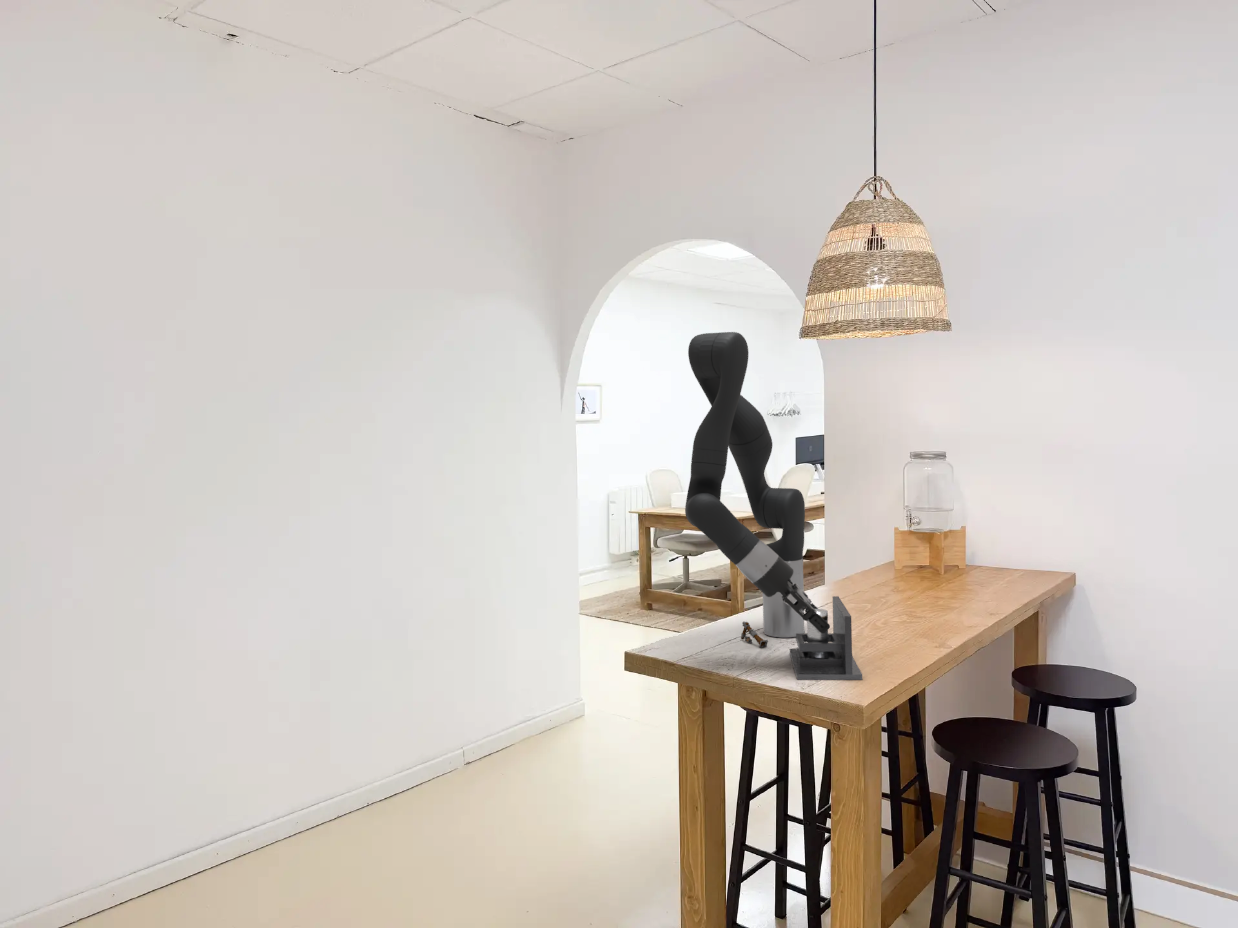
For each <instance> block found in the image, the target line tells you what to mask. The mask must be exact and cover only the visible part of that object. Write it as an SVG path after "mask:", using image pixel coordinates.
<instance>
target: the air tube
mask: <svg viewBox="0 0 1238 928" xmlns="http://www.w3.org/2000/svg"><path fill="white" fill-rule="evenodd" d="M815 610H816V612H817V613H818V614H819V615H820V616H821V617H822V618H823V619H824V620H825V621H826V622H827V623H828V624H829V622H828V621H829V617H828V616H829V614H828V610H826V609H822V608H818V609H815ZM807 611H808V610H807ZM806 629H807V630H806V633H807V642H828V633H829V629H828V630H827V631H826V632H825V633H821V632H820V631H819V630H818V629H817V628H816V627H814V626H813V625H812V624H811V623H810V622H809V621H806ZM808 658H829V653H828V651H808Z"/></svg>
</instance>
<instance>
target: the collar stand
mask: <svg viewBox="0 0 1238 928" xmlns="http://www.w3.org/2000/svg"><path fill="white" fill-rule="evenodd" d="M832 631H833V632H832V633H829V632H828V642H807V632H806V633H800V634H796V637H795V641H796V645H797V647H796V648H789V656H790V659H791V663H792V667H793V670H794V673H795V677H796V680H798V681H799V680H800V681H802V680H803V681H805V680H808V681H809V680H810V681H811V680H812V681H813V680H815V681H818V680H819V681H821V680H822V681H825V680H826V681H863V673H862V671H861V670H860V668H859V666H858V664H857V662H856V660H855V659H854V656H853V639H852V637H853V636H852V635H853V633H852V615H851V613H850V612H849V610H848V609H847V607H846V606H845V605H844V603H843V601H842V600H841V598H840V597H839V595H836V596H834V595H833V596H832ZM808 651H828V653H829V658H808Z"/></svg>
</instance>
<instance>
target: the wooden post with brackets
mask: <svg viewBox="0 0 1238 928" xmlns="http://www.w3.org/2000/svg"><path fill="white" fill-rule="evenodd" d="M742 627H743V630H742V633H741V635H740V639H741V640H744V642H746V643H747V642H748V643H747V644H750V643H752V644H753V639H754V640H756V642H757V644H758V649H762V648H767V646H768V642H769V641H768V639H763V638H762V637H761V636H759V635H758V632H756V630H755V629H754V628H752V627H751V625H750V623H749V622H748V621H743V622H742ZM747 633H748V634H749V635H750V636H748V635H747ZM751 637H752V639H751Z"/></svg>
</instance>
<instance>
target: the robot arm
mask: <svg viewBox="0 0 1238 928" xmlns="http://www.w3.org/2000/svg"><path fill="white" fill-rule="evenodd" d="M687 351H688V353H687V354H688V355H687V356H688V361H689V365H690V368H691V370H692V372H693V375H694V377H695V379H696V380H697V382H698V384H699V387H700V388H701V389H702V391H703V393H704V395H705V396H706V398H707V400H708V402H709V404H710V409H709V410H708V412H707V413H706V415H705V417H704V418H703V420H702V421H701V423H700V425H699V426H698V428H697V431H696V432H695V436H694V438H693V445H692V454H691V462H690V478H689V484H688V488H687V494H686V495H687V496H686V500H685V506H684V507H685V508H684V510H685V511H684V513H685V516H686V519H687V522H689V523H690V525H692V526H694V527H695V528H696V529H698V530H699V531H700V532H701V533H703V534H704V535H705V536H706V537H707V538H708V539H709V540H711V541H712V542H713V543H714V544H715V545H716V546H717V548H718V549H719V550H720V551H721V553H722V554H723V555H724V556H725V557H726V558H727V559H728V560H729V561H730V562H731V563H733V564H734V565H735V566H736V567H737V569H738V570H739V571H740V572H741V574H742V575H743V576H745V578H746V579H748V581H750V582H751V584H753V585H754V587H756V588H757V589H758V590H759V591H760V592H761V593H762V615H763V616H762V617H763V619H762V620H763V621H762V622H763V623H762V624H763V635H767V636H768V637H774V638H796V634H800V633H805V621H806V622H807V621H809V622H810V623H811V624H812V625H813V626H814V627H816V628H817V629H818V630H819V631H820V632H821V633H825V632H826V631H827V630H828V631H829V629H830V627H831V625H830V624H829V622H828V623H827V622H826V621H825V620H824V619H823V618H822V617H821V616H820V615H819V614H818V613H817V612H816V610H815V609H819V608H818V607H817V606H816V605H815V604H814V603H813V602H812V599H810V598H809V596H808V595H807V593H806V592H805V591H804V589H805V588H804V558H803V557H804V556H803V555H804V545H805V520H806V518H805V517H806V503H805V499H804V496H803V494H802V492H801V490H799V489H796V488H790V487H789V488H788V487H783V488H782V487H781V488H780V487H770V485H769V484H768V483H767V479H766V477H765V471H766V468H767V465H768V463H769V460H770V458H771V455H772V450H773V439H772V436H771V433H770V430H769V428H768V425H767V423H766V421H765V419H764V417H763V415H762V413H761V412H760V411H759V410H758V409H757V408H756V407H755V406H754V404H752V403H751V402H750V401H749V400H747V399H746V398H745V397H744V396H743V395H742V389H743V385H744V382H745V378H746V373H747V368H748V363H749V346H748V343H747V340H746V339H745V337H744V335H743V334H741V333H739V332H737V331H727V332H726V331H724V332H707V333H706V332H705V333H700V334H697V335H694V337H692V338H691V340H690V342H689V345H688V349H687ZM729 450H730V453H731V455H732V457H733V459H734V462H735V464H736V466H737V468H738V469H737V470H738V472H739V474H740V476H741V479H742V483H743V485H744V489H745V492H746V495H747V499H748V503H749V505H750V506H749V507H750V510H751V511H752V512H751V513H752V514H753V517H754V519H755V521H756V523H757V524H758V525H759V526H760V527H762V528H766V529H776V530H777V529H779V530H780V529H781V530H782V534H781V537H780V538H779V539H777V540H775V541H773V542H769V543H767V544H766V543H765V542H764V541H762V540H761V539H760V538H759V537H758V536H757V535H756V534H755V533H753V532H752V531H751V530H750V529H749V528H748V527H747V526H745V525H744V524H743V523H741V522H740V521H739V520H738V518H737V517H736V516H735V515H734V514H733V513H732V512H731V510H730V509H729V508H728V507H727V506H726V505H725V504H724V502H722V501H721V496H722V494H721V493H722V484H723V481H724V478H725V476H726V470H727V462H728V461H727V460H728V452H729ZM807 610H808V611H807Z"/></svg>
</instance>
